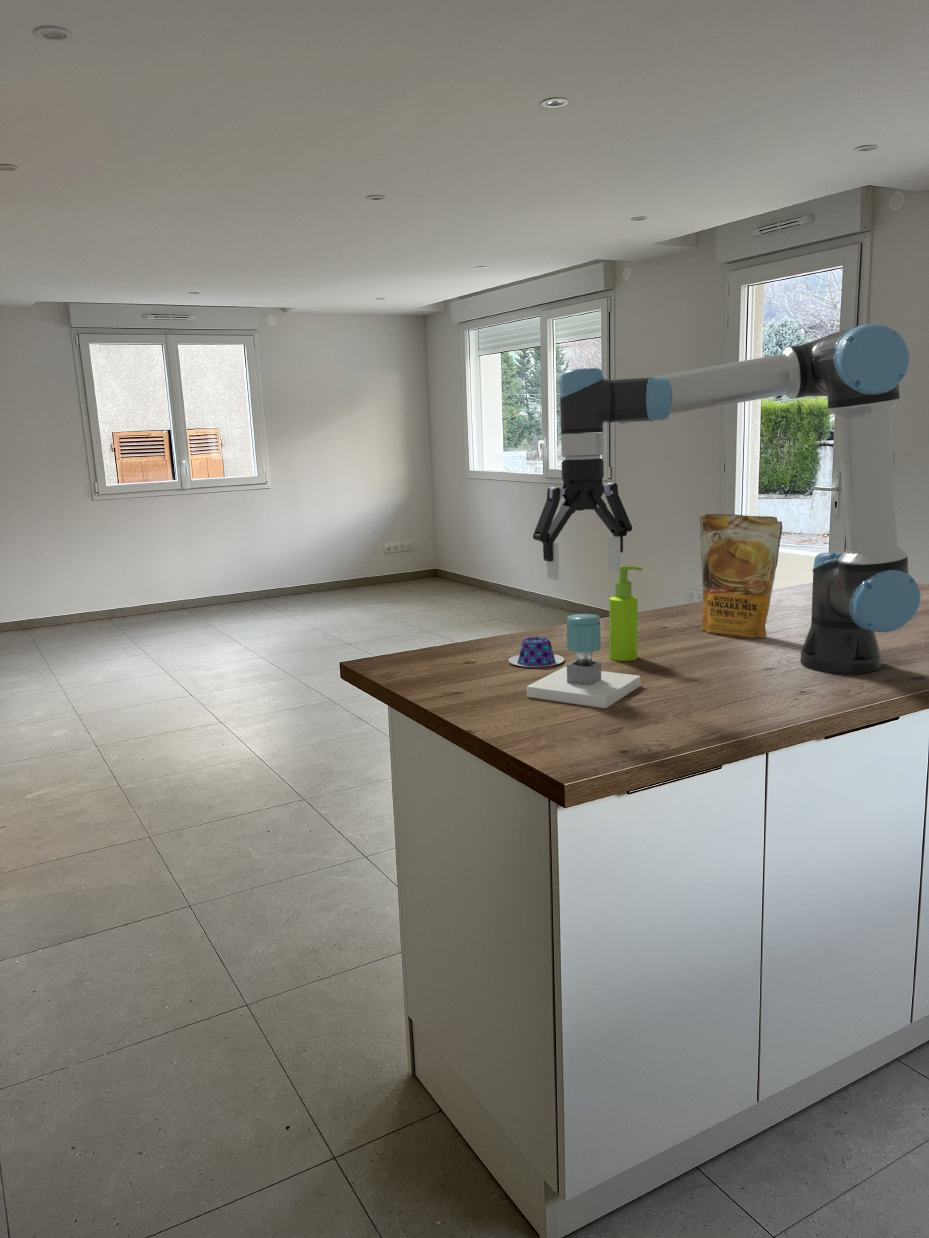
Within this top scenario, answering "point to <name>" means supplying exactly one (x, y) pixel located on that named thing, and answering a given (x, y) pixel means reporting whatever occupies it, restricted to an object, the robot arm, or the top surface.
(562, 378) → the robot arm
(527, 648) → the patterned brimmed hat
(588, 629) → the cap
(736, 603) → the pancake mix bag
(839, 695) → the top surface
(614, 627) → the soap dispenser
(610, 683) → the post base
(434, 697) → the top surface
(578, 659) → the post
